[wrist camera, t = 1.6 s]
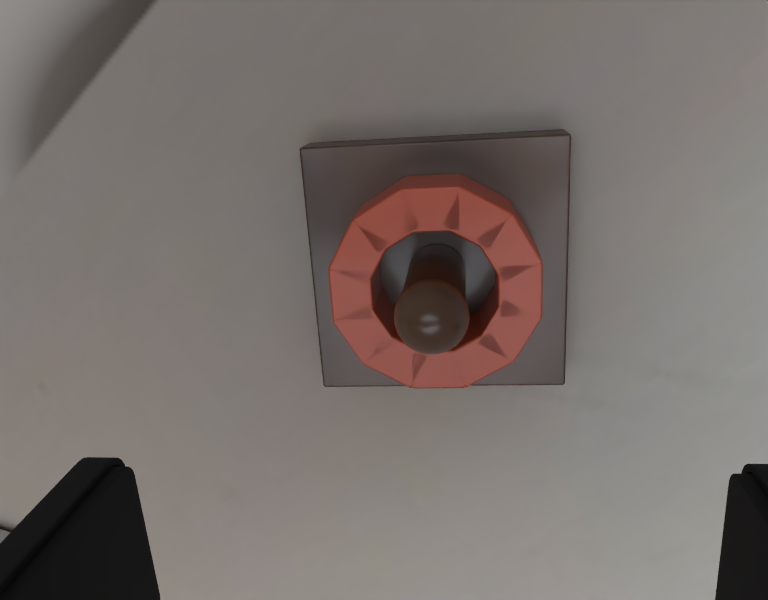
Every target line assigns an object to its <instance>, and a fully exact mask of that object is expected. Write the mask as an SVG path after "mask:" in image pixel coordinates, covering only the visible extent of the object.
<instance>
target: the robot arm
mask: <svg viewBox="0 0 768 600" xmlns="http://www.w3.org/2000/svg"><path fill="white" fill-rule="evenodd" d="M0 600H160V593H159V589H158V584H157V579H156V574H155V570H154V565H153V560H152V555H151V551H150V546H149V541H148V536H147V532H146V527H145V522H144V517H143V513H142V508H141V503H140V498H139V494H138V489H137V484H136V479H135V475H134V472H133V470H132V469H131V468H130V467H125V465H124V463H123V461H122V460H121V459H119V458H95V457H87V458H83V459H81V460H80V461H79V462H78V463H77V464H76V465H75V466H74V467H73V468H72V469H71V470H70V471H69V472H68V473H67V474H66V475H65V476H64V477H63V478H62V479H61V480H60V481H59V482H58V484H57V485H56V486H55V487H54V488H53V489H52V490H51V491H50V492H49V493H48V494H47V495H46V496H45V497H44V498H43V499H42V500H41V501H40V502H39V503H38V504H37V505H36V506H35V508H34V509H33V510H32V511H31V512H30V513H29V514H28V515H27V516H26V517H25V518H24V519H23V520H22V521H21V522H20V523H19V524H18V525H17V526H16V527H15V528H14V529H13V530H12V532H11V533H10V534H9V535H8V536H7V537H6V538H5V539H4V540H3V541H2V542H1V543H0ZM715 600H768V464H747V465H745V466H744V468H743V470H742V474H732V475H731V477H730V480H729V486H728V495H727V504H726V512H725V521H724V529H723V538H722V546H721V555H720V564H719V572H718V581H717V589H716V598H715Z"/></svg>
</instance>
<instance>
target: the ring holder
mask: <svg viewBox="0 0 768 600" xmlns="http://www.w3.org/2000/svg"><path fill="white" fill-rule="evenodd" d="M570 156H571V135H570V134H569V133H568V132H566V131H565V130H545V131H526V132H507V133H488V134H468V135H449V136H430V137H411V138H392V139H373V140H354V141H335V142H316V143H309V144H307V145H305V146H303V147H302V148H300V157H301V167H302V177H303V187H304V197H305V207H306V216H307V226H308V236H309V246H310V256H311V266H312V276H313V286H314V295H315V305H316V315H317V325H318V335H319V345H320V355H321V365H322V374H323V384H324V386H325V387H347V386H406V385H404V384H402V383H400V382H398V381H396V380H394V379H392V378H390V377H388V376H386V375H384V374H382V373H380V372H378V371H376V370H374V369H372V368H370V367H368V366H366V365H365V364H363V363H362V362H361V360H360V359H359V358H358V356H357V355H356V353H355V352H354V351H353V349H352V348H351V346H350V345H349V344H348V342H347V341H346V339H345V338H344V337H343V335H342V334H341V332H340V331H339V330H338V328H337V327H336V325H335V324H334V322H333V318H332V307H331V296H330V285H329V275H328V269H329V265H330V263H331V261H332V259H333V257H334V255H335V253H336V251H337V249H338V247H339V245H340V243H341V241H342V238H343V236H344V234H345V232H346V230H347V228H348V226H349V224H350V222H351V220H352V219H353V218H354V216H355V215H356V213H357V212H358V210H359V209H360V207H361V206H362V205H363V204H364V203H365V202H367V201H368V200H370V199H371V198H373V197H375V196H376V195H378V194H379V193H381V192H382V191H384V190H385V189H387V188H388V187H390V186H392V185H393V184H395V183H396V182H398V181H399V180H401V179H402V178H404V177H406V176H417V175H439V174H460V175H464V176H466V177H468V178H470V179H472V180H474V181H476V182H478V183H479V184H481V185H483V186H485V187H487V188H489V189H491V190H493V191H495V192H497V193H499V194H501V195H502V196H504V197H506V198H507V199H508V200H510V202H511V203H512V205H513V207H514V208H515V210H516V212H517V213H518V215H519V216H520V218H521V220H522V221H523V223H524V225H525V226H526V228H527V230H528V231H529V233H530V234H531V236H532V238H533V239H534V241H535V243H536V246H537V249H538V251H539V254H540V256H541V259H542V263H543V301H542V319H541V320H540V322H539V323H538V325H537V326H536V328H535V330H534V331H533V333H532V334H531V336H530V337H529V339H528V341H527V342H526V344H525V345H524V347H523V348H522V350H521V352H520V353H519V355H518V356H517V358H516V359H515V361H514V362H512V363H511V364H509V365H507V366H505V367H503V368H502V369H500V370H498V371H496V372H494V373H492V374H490V375H488V376H487V377H485V378H483V379H481V380H479V381H477V382H475V383H473V384H472V385H563V384H564V383H565V358H566V318H567V277H568V237H569V196H570ZM380 274H381V288H382V289H383V291H384V292H385V293H386V295H387V296H388V298H389V299H390V301H391V302H392V304H393V305H394V307H395V310H394V324H395V327H396V330H397V333H398V335H399V336H400V338H401V339H402V341H403V342H404V343H405V344H406V345H407V346H409V347H410V348H411V349H413V350H415V351H417V352H420V353H423V354H440V353H444V352H446V351H448V350H450V349H452V348H453V347H455V346H456V345H457V344H458V343H459V342H460V341H461V340H462V339H463V337H464V335H465V334H466V332H467V329H468V325H469V318H470V315H472V314H474V313H476V312H478V311H479V310H480V309H481V307H482V305H483V304H484V302H485V300H486V299H487V297H488V295H489V294H490V292H491V290H492V289H493V287H494V285H495V270H494V269H493V267H492V265H491V264H490V262H489V261H488V259H487V257H486V256H485V254H484V253H483V251H482V250H481V248H480V247H479V246H477V245H475V244H474V243H472V242H470V241H468V240H466V239H464V238H462V237H460V236H458V235H456V234H454V233H452V232H450V231H440V232H414V233H413V234H411V235H409V236H408V237H406V238H405V239H403V240H401V241H400V242H398V243H396V244H395V245H393V246H392V247H390V248H388V249H387V250H386V252H385V253H384V255H383V257H382V259H381V261H380Z"/></svg>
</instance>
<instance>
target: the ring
mask: <svg viewBox="0 0 768 600" xmlns="http://www.w3.org/2000/svg"><path fill="white" fill-rule="evenodd" d="M440 231H450V232H452V233H454V234H456V235H458V236H460V237H462V238H464V239H466V240H468V241H470V242H472V243H474V244H475V245H477V246H479V247H480V248H481V250H482V251H483V253H484V254H485V256H486V257H487V259H488V261H489V262H490V264H491V265H492V267H493V269H494V270H495V285H494V287H493V289H492V290H491V292H490V294H489V295H488V297H487V299H486V300H485V302H484V304H483V305H482V307H481V309H480V310H479V311H478V312H476V313H474V314H472V315H470V318H469V325H468V329H467V332H466V334H465V335H464V337H463V339H462V340H461V341H460V342H459V343H458V344H457V345H456V346H455V347H453V348H452V349H450V350H448V351H446V352H444V353H440V354H423V353H420V352H417V351H415V350H413V349H411V348H410V347H409V346H407V345H406V344H405V343H404V342H403V341H402V339H401V338H400V336H399V335H398V333H397V330H396V327H395V324H394V310H395V307H394V305H393V304H392V302H391V301H390V299H389V298H388V296H387V295H386V293H385V292H384V291H383V289H382V288H381V274H380V261H381V259H382V257H383V255H384V253H385V252H386V250H387V249H388V248H390V247H392V246H393V245H395V244H396V243H398V242H400V241H401V240H403V239H405V238H406V237H408V236H409V235H411V234H413V233H414V232H440ZM328 275H329V285H330V296H331V307H332V318H333V322H334V324H335V325H336V327H337V328H338V330H339V331H340V332H341V334H342V335H343V337H344V338H345V339H346V341H347V342H348V344H349V345H350V346H351V348H352V349H353V351H354V352H355V353H356V355H357V356H358V358H359V359H360V360H361V362H362V363H363V364H365V365H366V366H368V367H370V368H372V369H374V370H376V371H378V372H380V373H382V374H384V375H386V376H388V377H390V378H392V379H394V380H396V381H398V382H400V383H402V384H404V385H406V386H408V387H410V388H411V387H412V388H465V387H468V386H470V385H472V384H473V383H475V382H477V381H479V380H481V379H483V378H485V377H487V376H488V375H490V374H492V373H494V372H496V371H498V370H500V369H502V368H503V367H505V366H507V365H509V364H511V363H512V362H514V361H515V359H516V358H517V356H518V355H519V353H520V352H521V350H522V348H523V347H524V345H525V344H526V342H527V341H528V339H529V337H530V336H531V334H532V333H533V331H534V330H535V328H536V326H537V325H538V323H539V322H540V320H541V319H542V301H543V263H542V259H541V256H540V254H539V251H538V249H537V246H536V243H535V241H534V239H533V238H532V236H531V234H530V233H529V231H528V230H527V228H526V226H525V225H524V223H523V221H522V220H521V218H520V216H519V215H518V213H517V212H516V210H515V208H514V207H513V205H512V203H511V202H510V200H508V199H507V198H506V197H504V196H502V195H501V194H499V193H497V192H495V191H493V190H491V189H489V188H487V187H485V186H483V185H481V184H479V183H478V182H476V181H474V180H472V179H470V178H468V177H466V176H464V175H460V174H439V175H417V176H406V177H404V178H402V179H401V180H399V181H398V182H396V183H395V184H393V185H392V186H390V187H388V188H387V189H385V190H384V191H382V192H381V193H379V194H378V195H376V196H375V197H373V198H371V199H370V200H368V201H367V202H365V203H364V204H363V205H362V206H361V207H360V209H359V210H358V212H357V213H356V215H355V216H354V218H353V219H352V220H351V222H350V224H349V226H348V228H347V230H346V232H345V234H344V236H343V238H342V241H341V243H340V245H339V247H338V249H337V251H336V253H335V255H334V257H333V259H332V261H331V263H330V265H329V269H328Z"/></svg>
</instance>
